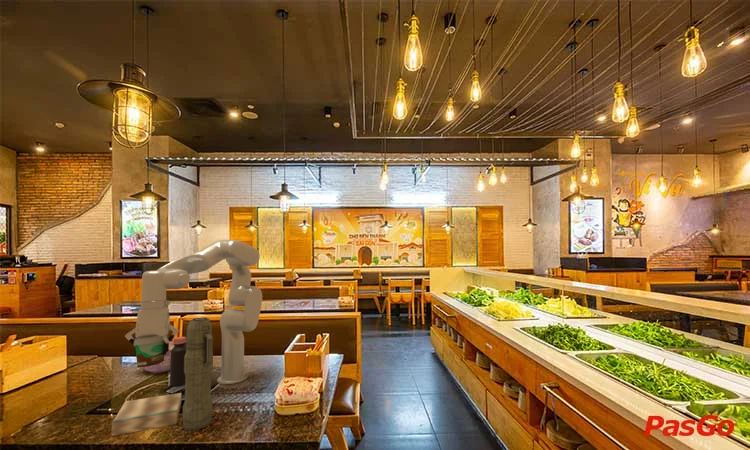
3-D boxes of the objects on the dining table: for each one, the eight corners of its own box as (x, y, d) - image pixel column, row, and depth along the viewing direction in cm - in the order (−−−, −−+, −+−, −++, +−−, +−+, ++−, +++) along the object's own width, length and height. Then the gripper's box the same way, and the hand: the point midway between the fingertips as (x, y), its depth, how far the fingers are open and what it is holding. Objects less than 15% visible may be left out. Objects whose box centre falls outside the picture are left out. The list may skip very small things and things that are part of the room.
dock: (181, 403, 136) (181, 392, 136) (176, 424, 119) (176, 410, 119) (125, 412, 128) (125, 400, 129) (111, 436, 112) (111, 421, 112)
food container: (149, 369, 119) (149, 339, 120) (133, 369, 120) (133, 339, 121) (175, 357, 131) (175, 330, 132) (161, 357, 132) (160, 330, 133)
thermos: (200, 433, 113) (202, 322, 115) (173, 427, 117) (176, 320, 120) (221, 420, 121) (223, 317, 124) (195, 415, 125) (197, 315, 128)
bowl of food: (168, 377, 165) (169, 352, 166) (126, 377, 165) (127, 352, 166) (191, 363, 185) (192, 341, 186) (153, 364, 185) (154, 341, 186)
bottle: (190, 381, 159) (191, 336, 161) (180, 387, 152) (182, 339, 154) (176, 381, 160) (177, 336, 161) (166, 386, 153) (167, 339, 155)
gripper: (182, 302, 134) (180, 349, 132) (127, 305, 127) (125, 356, 125) (180, 304, 127) (178, 355, 126) (121, 308, 120) (119, 362, 118)
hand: (152, 355), depth 125 cm, fingers closed on food container, 7 cm apart
